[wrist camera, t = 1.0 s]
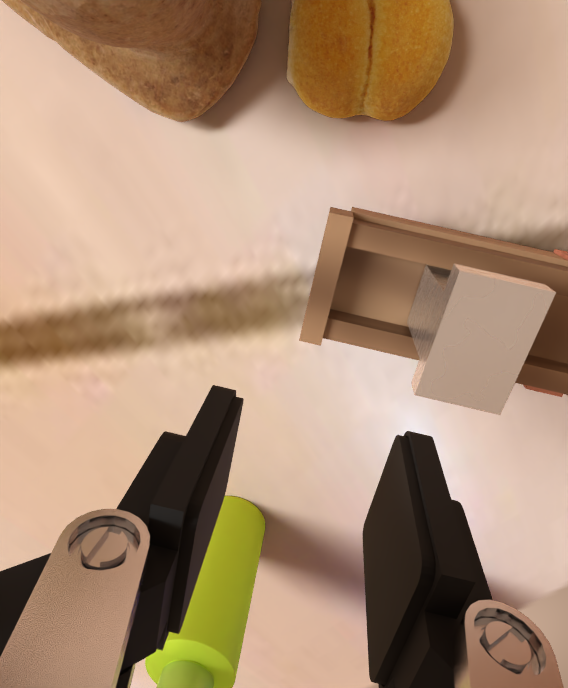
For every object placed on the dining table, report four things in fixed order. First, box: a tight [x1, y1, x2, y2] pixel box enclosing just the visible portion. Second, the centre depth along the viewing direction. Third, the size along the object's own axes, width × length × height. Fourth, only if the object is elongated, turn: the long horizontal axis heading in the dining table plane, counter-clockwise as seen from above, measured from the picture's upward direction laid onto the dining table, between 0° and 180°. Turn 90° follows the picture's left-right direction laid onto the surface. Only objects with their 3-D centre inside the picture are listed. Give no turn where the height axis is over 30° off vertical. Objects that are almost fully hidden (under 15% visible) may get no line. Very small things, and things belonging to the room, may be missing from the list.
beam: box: [299, 207, 568, 397], centre depth 28 cm, size 7×27×8 cm, turn 78°
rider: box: [407, 264, 556, 415], centre depth 24 cm, size 6×4×6 cm, turn 169°
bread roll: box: [287, 0, 454, 121], centre depth 26 cm, size 8×9×4 cm
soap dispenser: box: [145, 496, 265, 688], centre depth 34 cm, size 6×7×20 cm
